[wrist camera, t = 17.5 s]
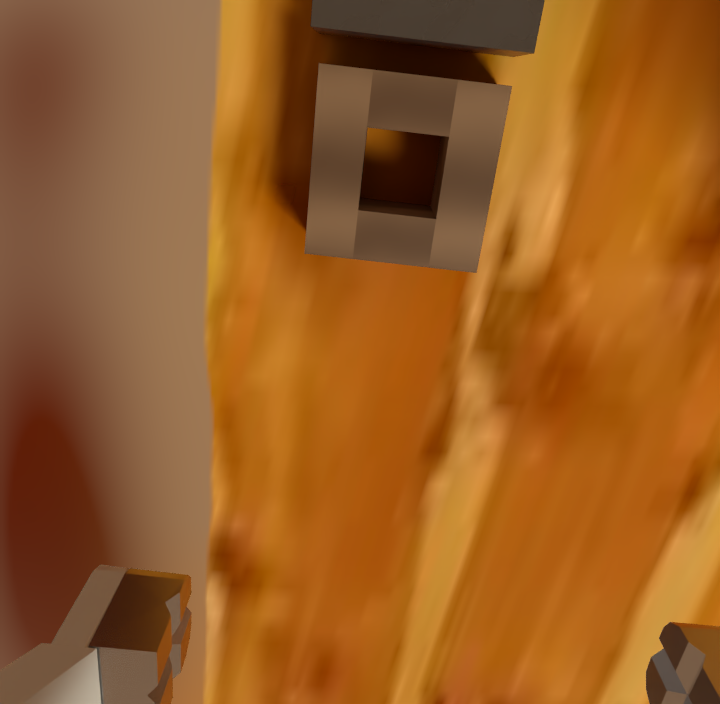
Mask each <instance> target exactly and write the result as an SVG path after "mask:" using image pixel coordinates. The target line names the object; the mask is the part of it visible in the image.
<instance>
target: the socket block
mask: <svg viewBox="0 0 720 704" xmlns="http://www.w3.org/2000/svg"><path fill="white" fill-rule="evenodd" d="M511 89H512V86H506V85H498V84H490V83H481V82H473V81H464V80H456V79H448V78H439V77H431V76H423V75H414V74H406V73H397V72H389V71H381V70H372V69H364V68H356V67H347V66H339V65H330V64H322V63H319V67H318V80H317V94H316V107H315V120H314V134H313V147H312V161H311V174H310V187H309V201H308V214H307V228H306V241H305V254H314V255H323V256H332V257H341V258H350V259H359V260H367V261H376V262H385V263H394V264H403V265H412V266H421V267H430V268H439V269H447V270H456V271H465V272H474V273H477V267H478V262H479V257H480V252H481V246H482V241H483V236H484V231H485V225H486V220H487V215H488V210H489V204H490V199H491V194H492V189H493V183H494V178H495V173H496V168H497V162H498V157H499V152H500V147H501V141H502V136H503V131H504V126H505V120H506V115H507V110H508V105H509V99H510V94H511ZM367 127H369V128H378V129H386V130H395V131H404V132H412V133H421V134H429V135H438V136H441V140H440V147H439V153H438V160H437V166H436V173H435V179H434V186H433V192H432V199H431V206H426V205H417V204H409V203H400V202H391V201H383V200H374V199H365V198H360V191H361V182H362V173H363V163H364V154H365V145H366V135H367Z"/></svg>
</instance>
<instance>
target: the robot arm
mask: <svg viewBox="0 0 720 704" xmlns="http://www.w3.org/2000/svg"><path fill="white" fill-rule="evenodd" d="M190 595H191V577H190V576H189V575H183V574H176V573H168V572H160V571H151V570H143V569H135V568H130V569H129V568H122V567H114V566H106V565H100V566H99V567H97V568H96V569H95V570H94V571H93V572H92V574H91V576H90V578H89V579H88V581H87V583H86V584H85V586H84V588H83V589H82V592H81V593H80V595H79V597H78V598H77V600H76V602H75V603H74V605H73V607H72V608H71V610H70V612H69V614H68V615H67V617H66V619H65V621H64V623H63V624H62V626H61V628H60V629H59V631H58V633H57V635H56V636H55V638H54V640H53V641H52V643H51V644H45V643H41V644H40V645H38V646H37V647H35V648H34V649H32V650H31V651H29V652H28V653H26V654H24V655H23V656H21V657H20V658H18V659H17V660H15V661H14V662H12V663H11V664H10V665H8V666H6V667H5V668H3V669H2V670H0V704H171V700H172V698H173V687H172V686H173V683H172V681H173V678H175V677H176V676H177V675H178V674H179V673H180V672H181V670H182V667H183V664H184V660H185V657H186V653H187V648H188V644H189V639H190V631H191V612H190V610H189V609H188V608H187V607H186V606H187V603H188V600H189V598H190ZM659 639H660V641H661V643H662V645H663V647H664V649H662V650H661V651H659V652H658V653H657V654H655V655H654V656H652V657H651V659H650V662H649V665H648V668H647V671H646V690H647V695H648V699H649V703H650V704H720V626H709V625H698V624H686V623H675V622H670V623H668V624H667V625H666V626H665V627H664V628H663V630H662V633H661V635H660V637H659Z"/></svg>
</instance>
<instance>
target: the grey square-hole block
mask: <svg viewBox="0 0 720 704" xmlns="http://www.w3.org/2000/svg"><path fill="white" fill-rule="evenodd" d="M543 6H544V0H312V15H311V27H312V28H313V29H314V30H316V31H317V32H318V33H319V34H328V35H336V36H344V37H353V38H361V39H369V40H378V41H386V42H394V43H402V44H411V45H419V46H427V47H436V48H444V49H452V50H461V51H469V52H477V53H486V54H494V55H502V56H510V57H515V56H521V55H527V54H533V53H534V51H535V46H536V41H537V36H538V31H539V26H540V21H541V16H542V11H543Z"/></svg>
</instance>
